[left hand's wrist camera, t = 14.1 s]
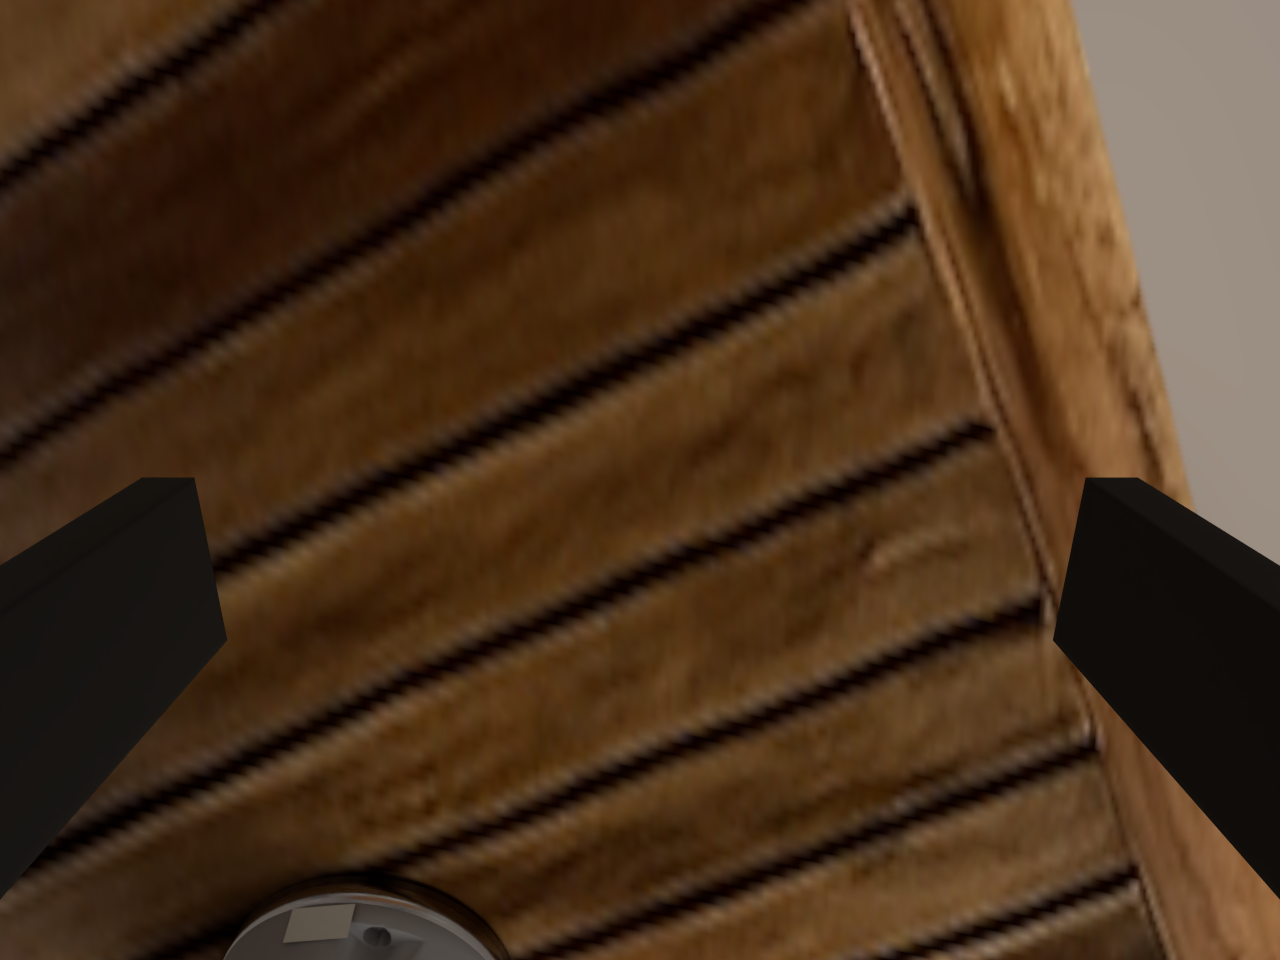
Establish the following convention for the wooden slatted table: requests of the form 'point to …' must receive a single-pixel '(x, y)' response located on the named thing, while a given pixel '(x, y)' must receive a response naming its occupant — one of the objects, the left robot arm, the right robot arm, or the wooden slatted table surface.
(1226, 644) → the left robot arm
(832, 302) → the wooden slatted table surface
